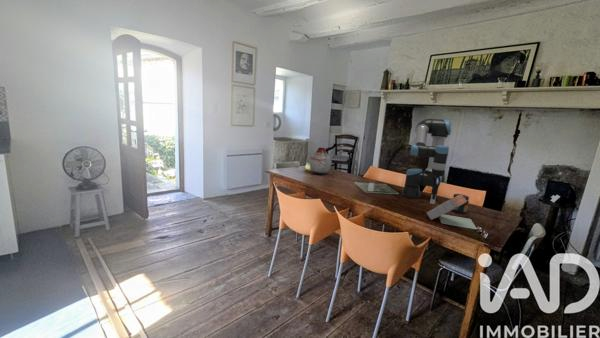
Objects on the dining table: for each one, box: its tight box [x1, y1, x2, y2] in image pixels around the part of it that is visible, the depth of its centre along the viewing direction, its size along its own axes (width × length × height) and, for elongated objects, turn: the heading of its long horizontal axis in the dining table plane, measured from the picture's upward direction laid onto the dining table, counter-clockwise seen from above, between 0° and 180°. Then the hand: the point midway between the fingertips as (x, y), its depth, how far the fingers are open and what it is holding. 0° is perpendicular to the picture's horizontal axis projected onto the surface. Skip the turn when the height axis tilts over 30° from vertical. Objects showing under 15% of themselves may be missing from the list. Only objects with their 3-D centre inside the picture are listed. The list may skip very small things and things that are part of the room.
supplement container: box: [451, 193, 470, 214], centre depth 191 cm, size 10×10×12 cm
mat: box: [438, 214, 478, 230], centre depth 172 cm, size 18×20×1 cm
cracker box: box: [425, 193, 467, 221], centre depth 169 cm, size 14×6×21 cm
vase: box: [309, 147, 332, 176], centre depth 278 cm, size 23×23×28 cm
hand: (432, 203), depth 176 cm, fingers closed
